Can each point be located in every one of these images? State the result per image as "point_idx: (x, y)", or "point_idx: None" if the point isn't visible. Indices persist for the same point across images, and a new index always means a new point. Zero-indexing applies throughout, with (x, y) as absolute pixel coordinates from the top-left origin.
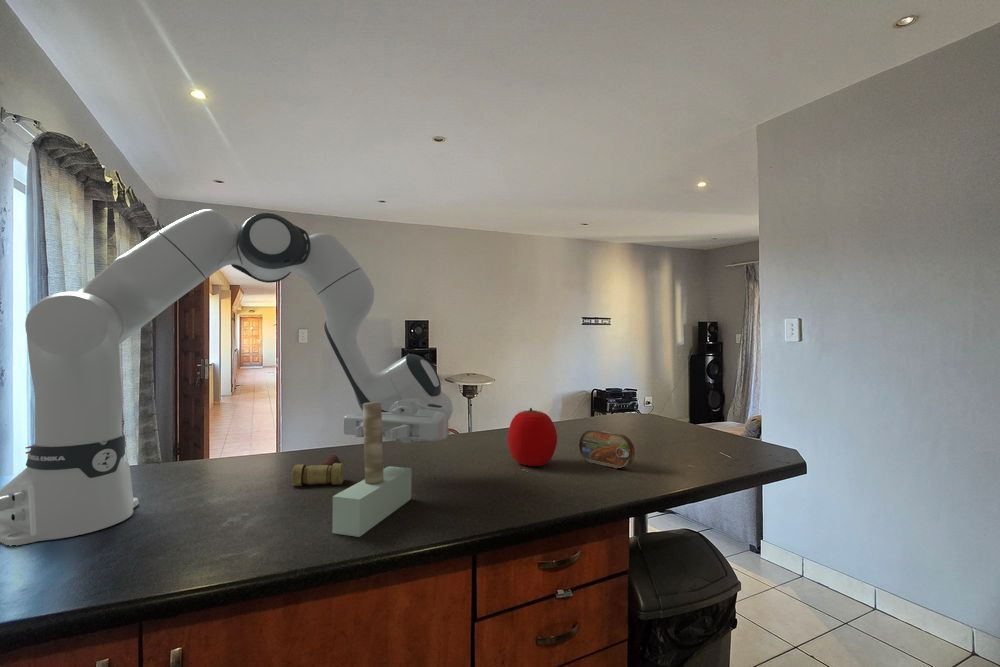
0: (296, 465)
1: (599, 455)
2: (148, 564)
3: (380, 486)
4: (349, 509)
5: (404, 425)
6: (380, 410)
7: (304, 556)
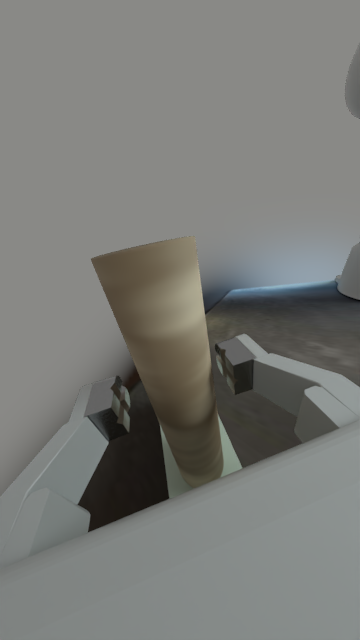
0: None
1: None
2: (252, 310)
3: (163, 441)
4: None
5: (14, 509)
6: (107, 296)
7: None
